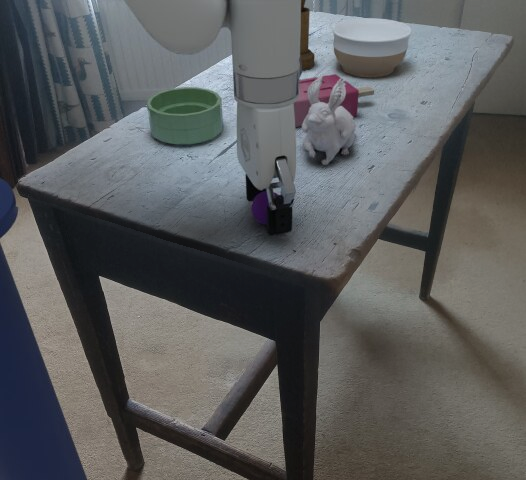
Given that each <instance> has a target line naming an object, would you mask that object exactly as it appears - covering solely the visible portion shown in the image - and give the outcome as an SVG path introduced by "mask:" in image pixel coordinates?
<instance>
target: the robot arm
mask: <svg viewBox="0 0 526 480" xmlns="http://www.w3.org/2000/svg"><path fill="white" fill-rule="evenodd" d="M123 1H124V3H125V4H126V5H127V7H128V8H129V9H130V11H131V13H132V14H133V15H134V17H135V18H136V20H137V21H138V22H139V24H140V25H141V26H142V27H143V29H144V30H145V31H146V33H147V34H148V35H149V36H150V37H151V39H153V40H154V41H155V42H156V43H157V44H158V45H159V46H161V47H162V48H164V49H166V50H167V51H169V52H171V53H173V54H176V55H182V56H192V55H196V54H200V53H201V52H203V51H205V50H206V49H207V48H209V47H210V46H212V44H214V42H215V40H216V39H217V37H218V36H219V33H220V31H221V29H223V28H227V29H228V30H229V31H230V41H231V44H230V45H231V60H232V64H231V65H232V81H233V84H232V85H233V98H234V100H235V102H236V155H237V156H236V157H237V160H238V163H239V165H240V166H241V169H242V170H243V171H244V173H245V195H246V196H245V197H246V200H247V201H248V202H253V200H254V198H255V197H256V196H257V195H258V194H259V193H261V192H264V191H267V196H268V201H269V207H267V225H266V233H267V235H268V236H269V237H271V236H277V235H282V234H286V233H290V232H292V231H293V207H294V202H295V196H296V193H297V189H296V185H295V183H294V182H295V181H296V173H297V134H296V133H297V131H296V127H295V114H294V104H293V103H294V102H296V101H297V100H298V98H299V80H300V78H299V74H300V28H301V0H123ZM273 179H278V181H277V182H276V181H275V182H272V181H273ZM279 188H280V194H278V196H277V197H276V198H275V197H274V192H275V191H274V189H279Z"/></svg>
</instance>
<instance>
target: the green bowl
mask: <svg viewBox="0 0 526 480" xmlns="http://www.w3.org/2000/svg"><path fill="white" fill-rule="evenodd" d="M146 109H147V115H148V121H149V123H148V124H149V129H150V133H151V135H152V137H153V138H154V139H157V140H158V141H160V142H163V143H167V144H172V145H183V146H185V145H195V144H200V143H203V142H206V141H209V140H212V139H215V138H216V137H217V136H218V135H220V134H221V133H222V132H223V128H224V120H223V119H224V118H223V115H224V114H223V102H222V97H221V96H220V94H219V93H218V92H215V91H213V90H211V89H209V88H202V87H193V86H192V87H190V86H185V87H184V86H183V87H176V88H175V87H174V88H169V89H166V90H162V91H159V92H156V93H155V94H153V95H152V96H150V97H149V99H148V100H147V101H146Z"/></svg>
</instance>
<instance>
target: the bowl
mask: <svg viewBox="0 0 526 480" xmlns="http://www.w3.org/2000/svg"><path fill="white" fill-rule="evenodd" d="M331 29H332V33H333V43H332V46H333V54H334V55H335V58H336V60H337V62H338V63H339V64H340V65H341V67H342V70H343V71H344V72H345V73H346V74H348V75H351V76H354V77H360V78H380V77H381V78H382V77H385V76H389V75H391V74H392V73H393V72H394V70H395V68H396V67H398V65H400V64H401V63H402V61H403V60H404V59H405V57H406V55H407V51H408V48H409V40H410V36H411V35H412V33H413V30H412V27H410V26H409V25H407V24H405V23H403V22H401V21H397V20H393V19H386V18H377V17H375V18H374V17H366V18H365V17H364V18H363V17H361V18H353V19H346V20H343V21H340V22H338V23H335V24H334V25H333V27H332V28H331Z"/></svg>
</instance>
